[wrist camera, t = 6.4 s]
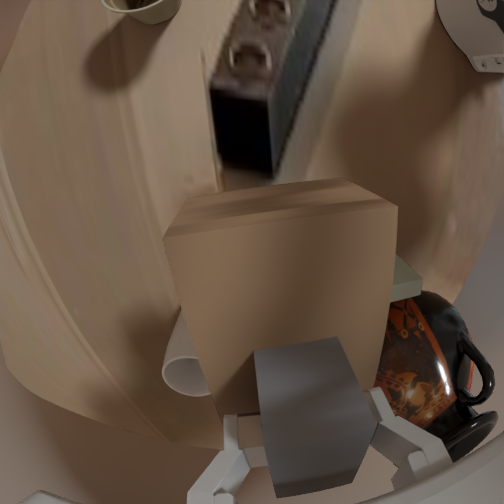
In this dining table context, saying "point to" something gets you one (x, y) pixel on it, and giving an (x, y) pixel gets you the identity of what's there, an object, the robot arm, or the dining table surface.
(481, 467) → the robot arm
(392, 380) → the amphora vase
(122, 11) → the flower pot
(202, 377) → the drinking glass
